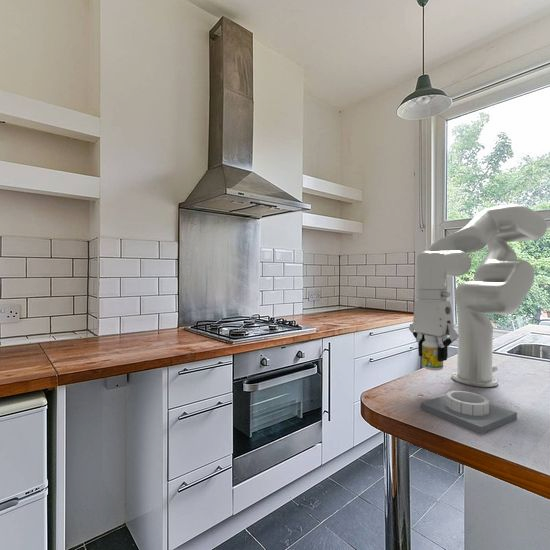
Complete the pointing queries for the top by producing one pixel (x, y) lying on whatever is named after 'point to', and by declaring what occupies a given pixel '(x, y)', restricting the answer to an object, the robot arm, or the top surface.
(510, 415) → the socket board
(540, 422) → the top surface
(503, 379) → the top surface
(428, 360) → the supplement bottle
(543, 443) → the top surface
